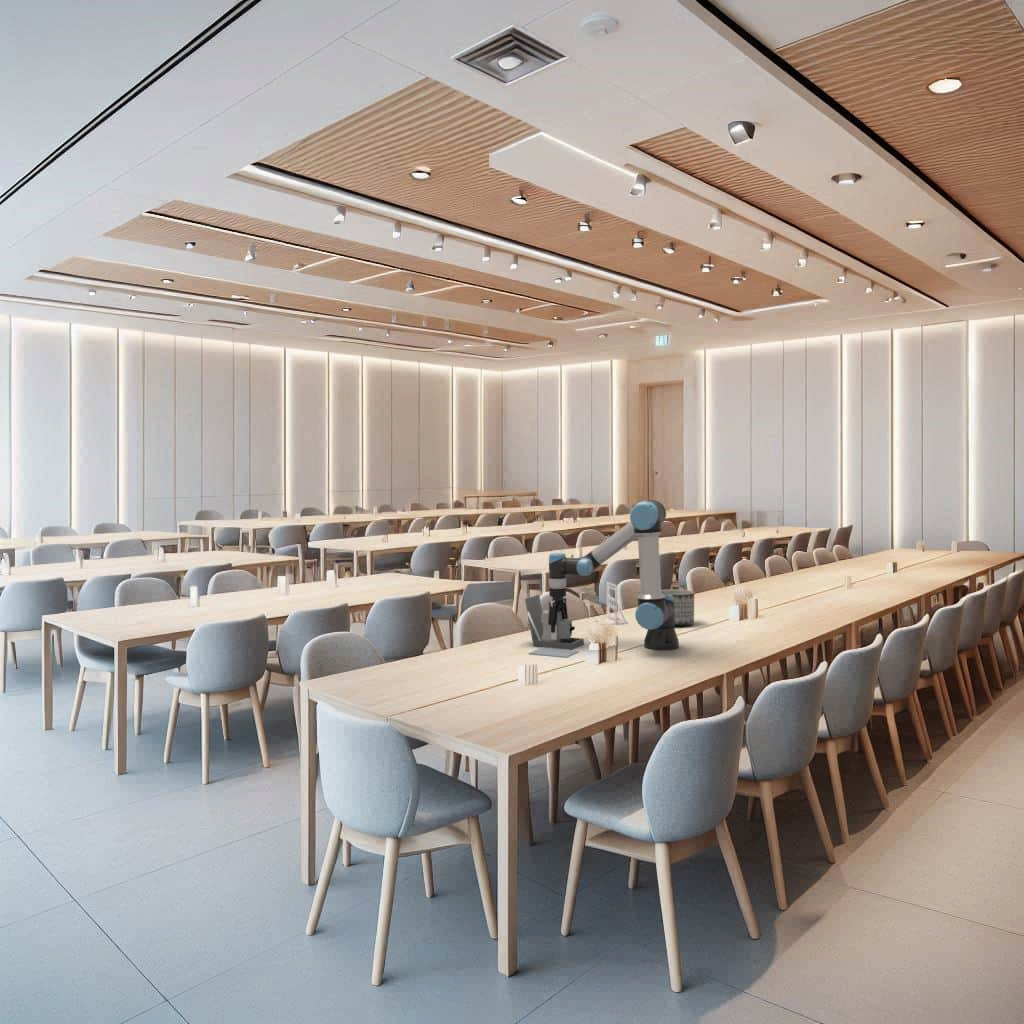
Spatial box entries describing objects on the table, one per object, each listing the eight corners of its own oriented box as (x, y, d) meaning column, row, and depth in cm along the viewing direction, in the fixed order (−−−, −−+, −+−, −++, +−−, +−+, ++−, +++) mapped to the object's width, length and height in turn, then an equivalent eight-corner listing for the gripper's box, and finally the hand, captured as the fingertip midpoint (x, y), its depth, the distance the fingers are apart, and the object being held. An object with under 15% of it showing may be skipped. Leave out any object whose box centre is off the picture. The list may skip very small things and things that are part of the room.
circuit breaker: (573, 647, 378) (572, 613, 377) (541, 646, 381) (541, 613, 380) (575, 643, 385) (575, 610, 384) (544, 643, 388) (544, 610, 387)
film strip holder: (593, 620, 442) (592, 582, 441) (618, 619, 446) (617, 581, 445) (602, 625, 428) (602, 586, 427) (628, 624, 432) (628, 584, 431)
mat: (578, 652, 367) (578, 651, 367) (567, 657, 357) (567, 656, 357) (540, 648, 376) (540, 647, 376) (528, 654, 365) (528, 653, 365)
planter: (649, 626, 424) (649, 593, 424) (664, 620, 441) (663, 588, 440) (686, 629, 414) (686, 595, 413) (700, 623, 431) (699, 590, 430)
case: (583, 644, 384) (583, 597, 383) (571, 650, 372) (570, 601, 371) (538, 640, 395) (537, 594, 394) (524, 645, 382) (524, 598, 381)
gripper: (559, 584, 393) (560, 632, 394) (539, 590, 374) (540, 641, 375) (574, 584, 389) (575, 633, 390) (555, 591, 370) (556, 642, 372)
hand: (558, 637), depth 383 cm, fingers closed on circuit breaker, 9 cm apart
